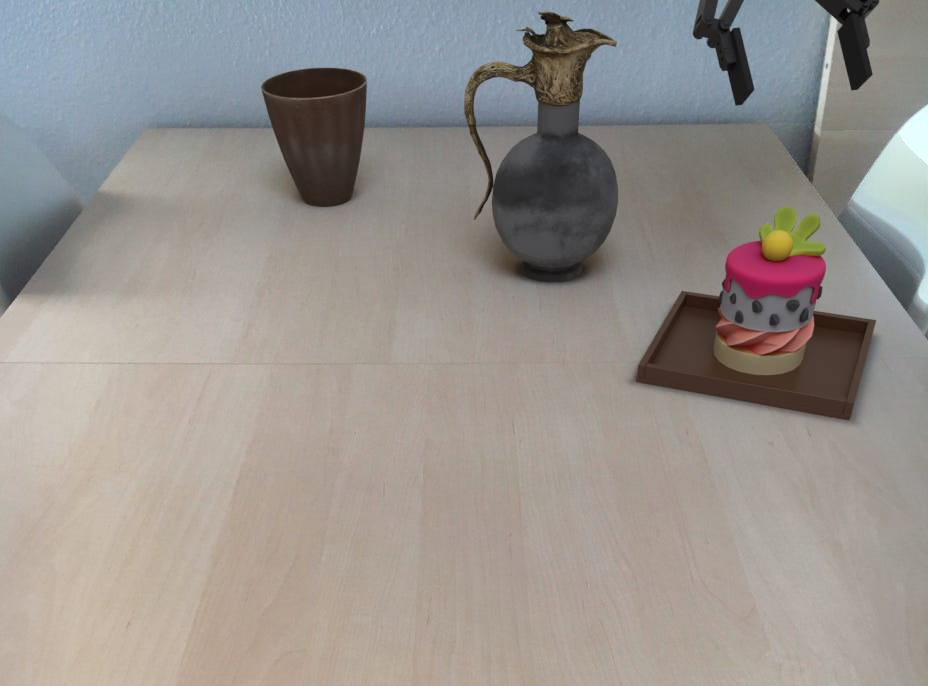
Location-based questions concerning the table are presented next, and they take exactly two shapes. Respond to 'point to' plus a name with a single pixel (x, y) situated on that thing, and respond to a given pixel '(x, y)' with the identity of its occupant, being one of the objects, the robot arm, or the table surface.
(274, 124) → the flower pot
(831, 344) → the tray
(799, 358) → the cake
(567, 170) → the pitcher
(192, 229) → the table surface
